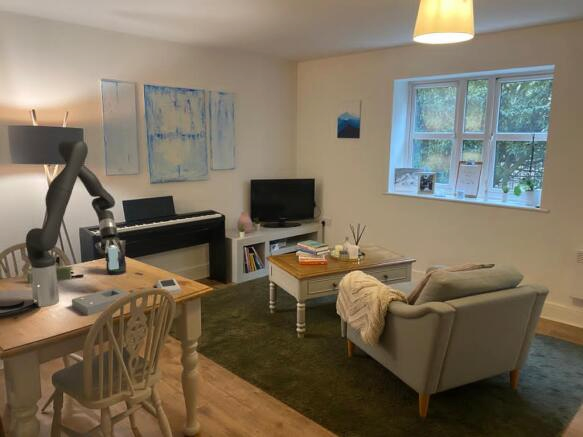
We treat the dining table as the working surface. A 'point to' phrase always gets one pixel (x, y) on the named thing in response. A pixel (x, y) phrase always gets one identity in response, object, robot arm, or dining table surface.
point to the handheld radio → (62, 274)
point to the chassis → (97, 300)
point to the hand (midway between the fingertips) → (113, 260)
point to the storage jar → (121, 265)
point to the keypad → (168, 285)
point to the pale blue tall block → (113, 257)
